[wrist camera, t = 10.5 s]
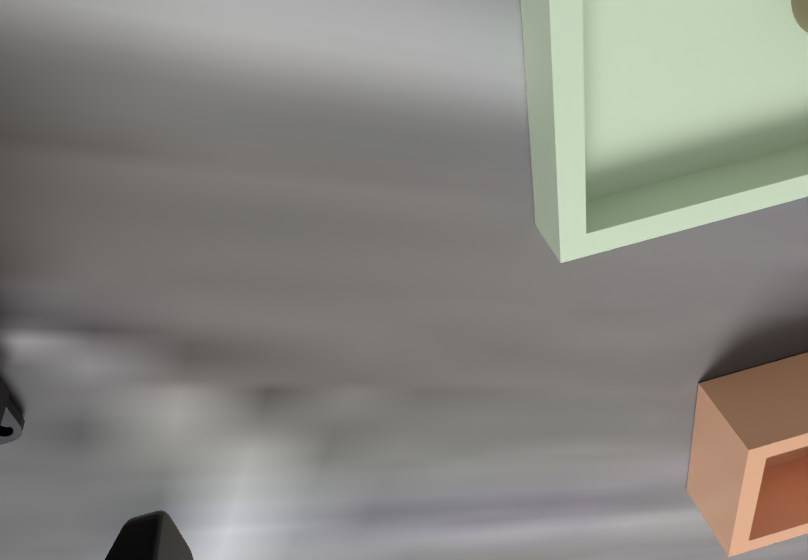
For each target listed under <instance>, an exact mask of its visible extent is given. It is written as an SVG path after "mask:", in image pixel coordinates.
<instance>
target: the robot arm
mask: <svg viewBox="0 0 808 560" xmlns="http://www.w3.org/2000/svg"><path fill="white" fill-rule="evenodd" d="M24 422H25V421H24V418H23V416H22V415H21V414H20V412H19V411H18V410H17V408H16V407H15V405H14V404H13V403H12V401H11V400H10V398H9V391H8V389H7V388H6V386H5V385H4V384H3V382H2V381H1V379H0V445H1V444H4V443H8V442H12V441H14V440H16V439H18V438H19V437H20V436H21V434H22V430H23V426H24ZM1 425H7V426H10V427H3V426H1ZM105 560H193V556H192V553H191V551H190V549H189V547H188V545H187V543H186V542H185V540H184V539H183V537H182V535H181V534H180V532H179V530H178V529H177V527H176V525H175V524H174V522H173V521H172V519H171V517H170V516H169V515H168V514H167V513H166V512H165V511H162V510H161V511H155V512H152V513H148V514H144V515H141V516H137V517H134V518H132V519H130V520H129V521H127V522H126V523H125V525H124V526H123V528H122V529H121V531H120V533H119V535H118V537H117V538H116V540H115V542H114V544H113V546H112V548H111V549H110V551H109V553H108V555H107V557H106V558H105Z"/></svg>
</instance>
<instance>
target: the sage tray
mask: <svg viewBox="0 0 808 560" xmlns="http://www.w3.org/2000/svg"><path fill="white" fill-rule="evenodd" d="M520 2H521V17H522V32H523V47H524V62H525V77H526V91H527V106H528V121H529V136H530V151H531V166H532V181H533V195H534V210H535V225H536V227H537V228H538V230H539V231H540V233H541V234H542V236H543V237H544V239H545V240H546V242H547V243H548V245H549V246H550V248H551V249H552V251H553V252H554V254H555V255H556V257H557V258H558V260H559V261H560V263H563V262H566V261H570V260H574V259H577V258H581V257H585V256H589V255H592V254H596V253H600V252H603V251H607V250H611V249H615V248H618V247H622V246H626V245H629V244H633V243H637V242H640V241H644V240H648V239H652V238H655V237H659V236H663V235H666V234H670V233H674V232H678V231H681V230H685V229H689V228H692V227H696V226H700V225H704V224H707V223H711V222H715V221H718V220H722V219H726V218H729V217H733V216H737V215H741V214H744V213H748V212H752V211H755V210H759V209H763V208H767V207H770V206H774V205H778V204H781V203H785V202H789V201H793V200H796V199H800V198H804V197H807V196H808V33H807V32H806V31H804V30H803V29H802V28H801V27H800V26H799V25H798V23H797V22H796V20H795V18H794V15H793V12H792V6H791V0H520Z"/></svg>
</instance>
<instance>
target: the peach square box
mask: <svg viewBox="0 0 808 560" xmlns="http://www.w3.org/2000/svg"><path fill="white" fill-rule="evenodd" d="M686 491H687V492H688V494H689V495H690V497H691V498H692V500H693V502H694V503H695V505H696V506H697V508H698V510H699V511H700V513H701V514H702V516H703V518H704V519H705V521H706V522H707V524H708V525H709V527H710V529H711V530H712V532H713V533H714V535H715V537H716V538H717V540H718V541H719V543H720V545H721V546H722V548H723V549H724V551H725V552H726V554H727V556H728V557H730V556H734V555H737V554H740V553H744V552H747V551H750V550H754V549H757V548H760V547H764V546H767V545H770V544H773V543H777V542H780V541H783V540H787V539H790V538H793V537H797V536H800V535H803V534H807V533H808V352H807V353H803V354H800V355H796V356H793V357H789V358H786V359H782V360H779V361H775V362H772V363H768V364H764V365H761V366H757V367H754V368H750V369H747V370H743V371H740V372H736V373H733V374H729V375H726V376H722V377H719V378H715V379H712V380H708V381H705V382H701V383H698V392H697V401H696V409H695V418H694V427H693V436H692V444H691V453H690V462H689V470H688V479H687V488H686Z"/></svg>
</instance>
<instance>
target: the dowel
mask: <svg viewBox="0 0 808 560" xmlns="http://www.w3.org/2000/svg"><path fill="white" fill-rule="evenodd" d="M791 6H792V12H793V15H794V18H795V20H796V22H797V23H798V25H799V26H800V27H801V28H802V29H803V30H804V31H806V32H807V33H808V0H791Z"/></svg>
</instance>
